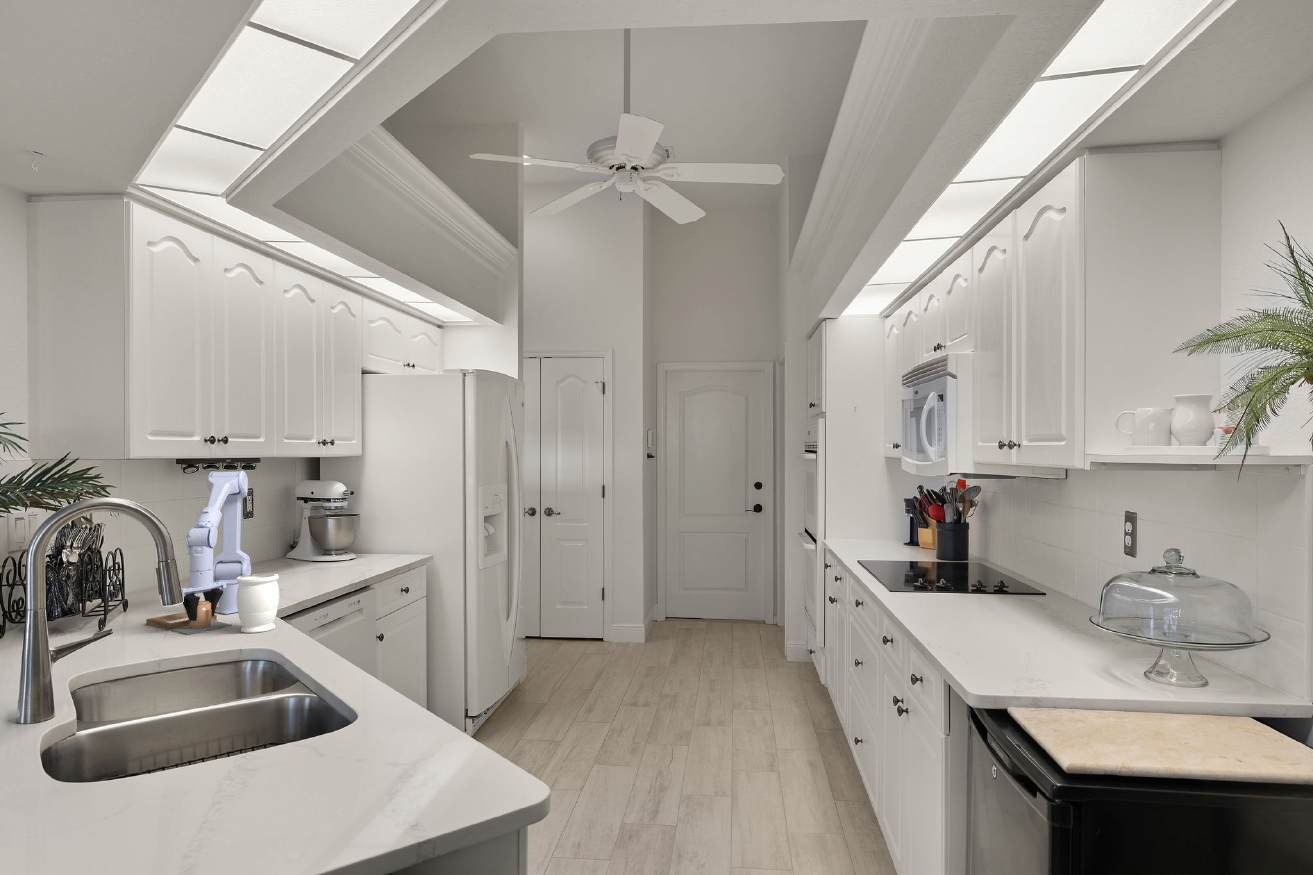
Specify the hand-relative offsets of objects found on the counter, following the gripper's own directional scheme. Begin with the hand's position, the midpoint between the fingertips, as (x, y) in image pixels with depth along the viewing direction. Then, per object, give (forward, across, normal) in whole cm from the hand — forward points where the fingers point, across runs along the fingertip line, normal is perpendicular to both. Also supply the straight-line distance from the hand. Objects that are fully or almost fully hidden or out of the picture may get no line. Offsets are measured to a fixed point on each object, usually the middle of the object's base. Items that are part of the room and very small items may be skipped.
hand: (201, 618), depth 209 cm
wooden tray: (+3, -4, -12) cm, 13 cm away
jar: (+3, -3, +17) cm, 18 cm away
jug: (+2, 0, 0) cm, 2 cm away
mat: (+3, 0, 0) cm, 3 cm away
